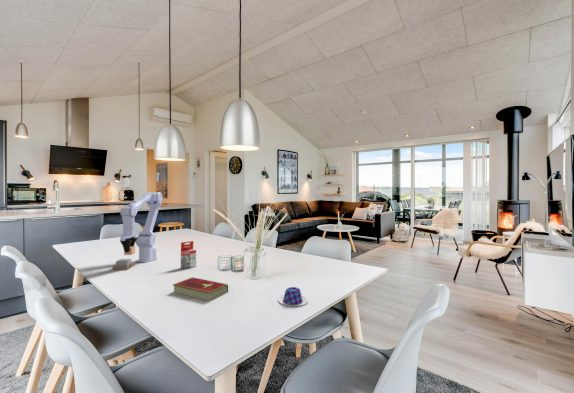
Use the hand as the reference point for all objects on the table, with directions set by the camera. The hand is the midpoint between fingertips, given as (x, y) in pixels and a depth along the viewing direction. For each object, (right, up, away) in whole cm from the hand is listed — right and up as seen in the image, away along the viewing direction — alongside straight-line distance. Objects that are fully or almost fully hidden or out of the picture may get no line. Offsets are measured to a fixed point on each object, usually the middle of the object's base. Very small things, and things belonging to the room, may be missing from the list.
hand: (128, 251), depth 160 cm
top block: (-3, -8, 0) cm, 8 cm away
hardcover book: (+52, -12, -36) cm, 64 cm away
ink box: (+33, -10, +3) cm, 35 cm away
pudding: (+92, -12, -44) cm, 103 cm away
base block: (-3, -10, 0) cm, 10 cm away
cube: (0, -2, 0) cm, 2 cm away
